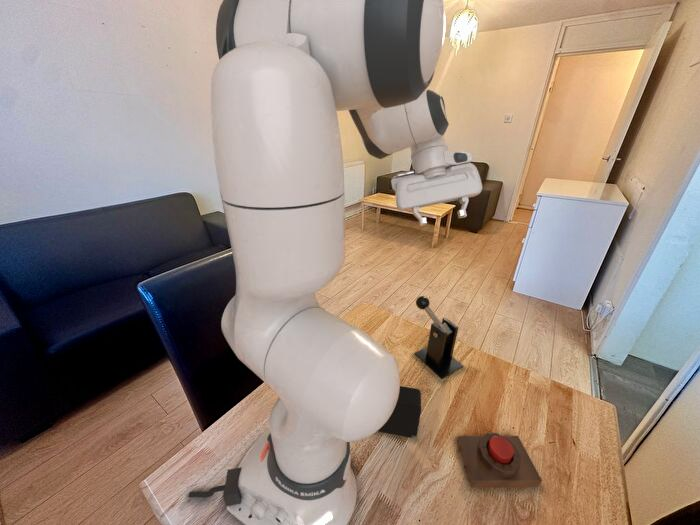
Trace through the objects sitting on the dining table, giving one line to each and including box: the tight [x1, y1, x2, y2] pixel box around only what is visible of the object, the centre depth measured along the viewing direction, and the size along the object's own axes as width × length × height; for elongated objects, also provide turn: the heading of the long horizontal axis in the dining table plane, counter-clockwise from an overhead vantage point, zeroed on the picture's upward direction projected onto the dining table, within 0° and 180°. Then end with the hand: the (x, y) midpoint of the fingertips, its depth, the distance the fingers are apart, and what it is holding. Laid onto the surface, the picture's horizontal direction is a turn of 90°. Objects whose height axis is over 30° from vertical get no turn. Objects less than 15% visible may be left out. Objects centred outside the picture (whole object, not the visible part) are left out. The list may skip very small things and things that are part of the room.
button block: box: [457, 432, 543, 489], centre depth 53 cm, size 12×8×4 cm, turn 90°
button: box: [488, 436, 514, 464], centre depth 52 cm, size 4×4×2 cm
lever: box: [415, 295, 452, 337], centre depth 74 cm, size 12×4×4 cm, turn 31°
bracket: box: [414, 317, 464, 380], centre depth 74 cm, size 10×8×13 cm
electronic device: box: [377, 385, 422, 439], centre depth 59 cm, size 4×10×10 cm, turn 78°
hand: (443, 221), depth 69 cm, fingers open, 8 cm apart
